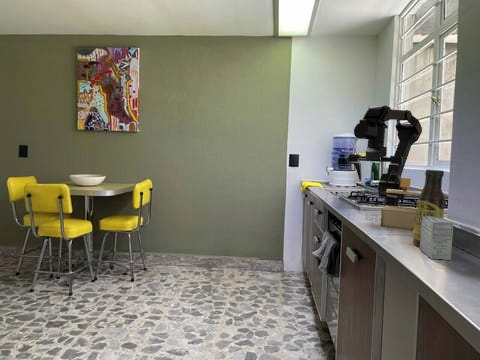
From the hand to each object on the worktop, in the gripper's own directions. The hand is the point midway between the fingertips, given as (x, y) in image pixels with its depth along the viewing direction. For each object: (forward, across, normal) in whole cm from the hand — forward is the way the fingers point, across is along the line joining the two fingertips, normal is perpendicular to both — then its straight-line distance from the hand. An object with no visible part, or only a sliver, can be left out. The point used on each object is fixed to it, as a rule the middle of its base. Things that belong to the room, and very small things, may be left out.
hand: (373, 182), depth 129 cm
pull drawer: (+3, +11, -3) cm, 12 cm away
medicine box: (+13, +20, -45) cm, 51 cm away
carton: (+13, +11, -10) cm, 20 cm away
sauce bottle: (+13, +18, -37) cm, 43 cm away
